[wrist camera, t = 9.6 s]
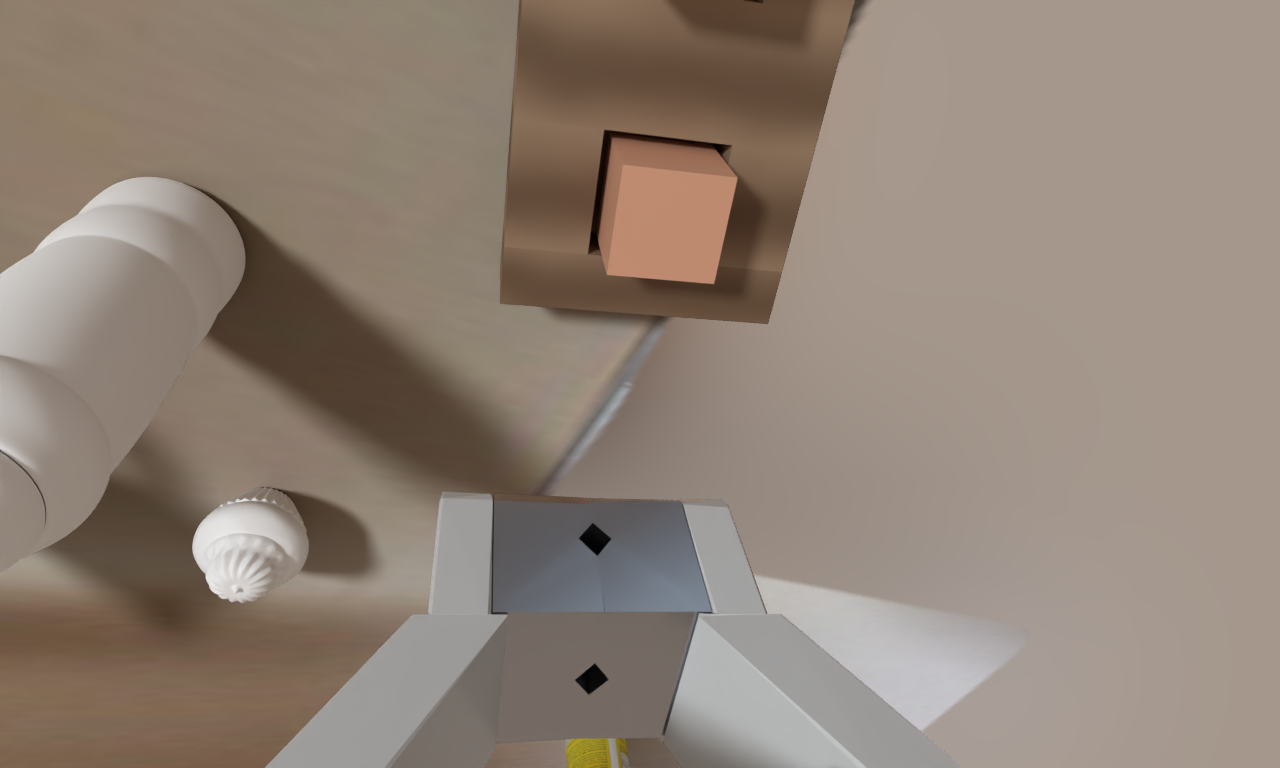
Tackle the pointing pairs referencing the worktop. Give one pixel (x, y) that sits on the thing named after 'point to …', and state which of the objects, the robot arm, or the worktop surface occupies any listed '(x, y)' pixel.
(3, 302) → the water bottle
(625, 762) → the supplement bottle
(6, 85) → the worktop surface
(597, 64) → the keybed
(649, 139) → the terracotta key
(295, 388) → the worktop surface
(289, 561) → the muffin
